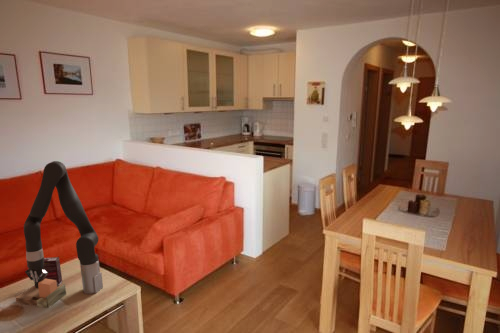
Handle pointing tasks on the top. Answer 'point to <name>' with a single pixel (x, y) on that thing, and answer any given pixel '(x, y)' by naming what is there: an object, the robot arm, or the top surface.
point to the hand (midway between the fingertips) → (38, 287)
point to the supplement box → (53, 269)
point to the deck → (34, 299)
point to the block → (47, 287)
